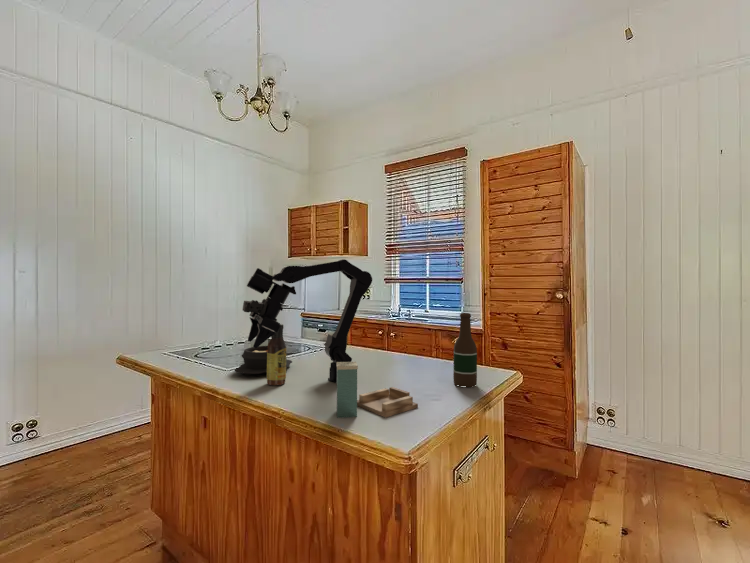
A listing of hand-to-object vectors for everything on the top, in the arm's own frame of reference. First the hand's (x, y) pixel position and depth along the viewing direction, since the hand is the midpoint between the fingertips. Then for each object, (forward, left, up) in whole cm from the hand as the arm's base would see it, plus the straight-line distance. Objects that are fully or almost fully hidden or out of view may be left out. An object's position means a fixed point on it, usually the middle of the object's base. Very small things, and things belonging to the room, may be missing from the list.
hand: (251, 344), depth 122 cm
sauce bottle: (-9, 0, -14) cm, 17 cm away
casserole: (-14, -20, -14) cm, 28 cm away
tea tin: (-10, +38, -14) cm, 42 cm away
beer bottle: (-57, +41, -14) cm, 71 cm away
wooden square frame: (-22, +40, -14) cm, 48 cm away
